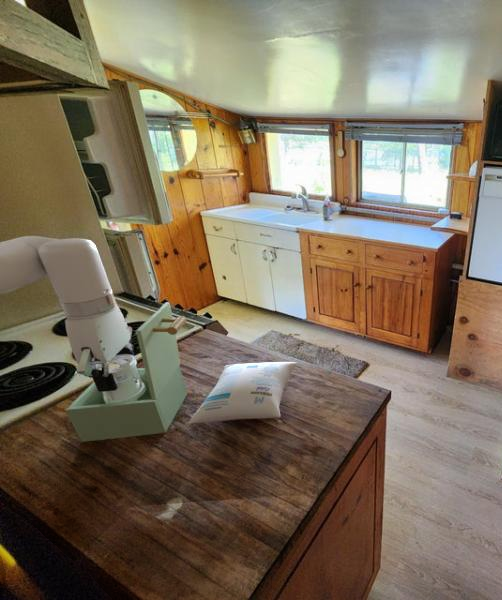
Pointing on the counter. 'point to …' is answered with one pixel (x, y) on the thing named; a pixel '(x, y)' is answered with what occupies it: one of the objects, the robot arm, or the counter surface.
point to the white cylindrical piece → (124, 380)
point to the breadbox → (126, 411)
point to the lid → (160, 347)
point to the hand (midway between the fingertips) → (119, 377)
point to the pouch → (246, 392)
